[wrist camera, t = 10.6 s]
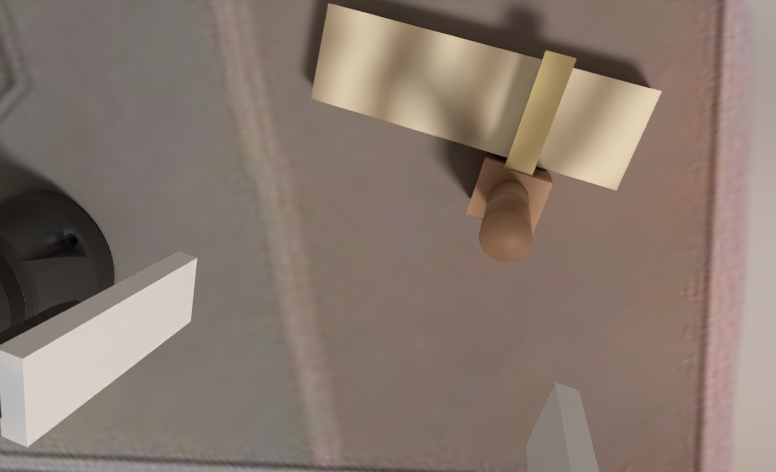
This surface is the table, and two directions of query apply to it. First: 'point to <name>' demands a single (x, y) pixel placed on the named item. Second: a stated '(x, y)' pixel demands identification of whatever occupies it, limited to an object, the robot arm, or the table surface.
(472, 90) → the board
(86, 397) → the robot arm
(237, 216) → the table surface
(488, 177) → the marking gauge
